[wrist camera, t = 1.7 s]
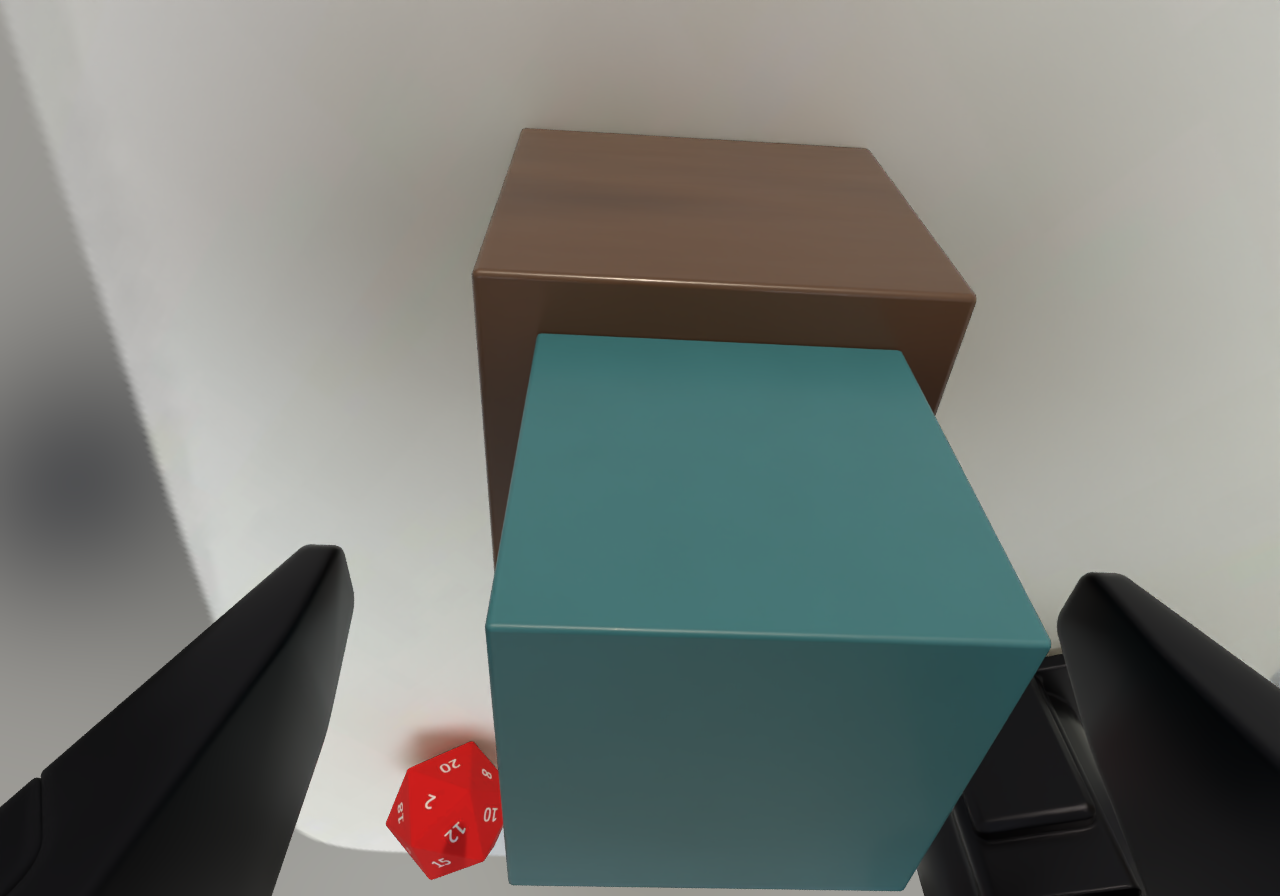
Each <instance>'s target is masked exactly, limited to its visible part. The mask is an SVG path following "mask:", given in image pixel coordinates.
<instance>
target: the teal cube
mask: <svg viewBox="0 0 1280 896" xmlns="http://www.w3.org/2000/svg"><path fill="white" fill-rule="evenodd" d="M485 632H486V642H487V653H488V664H489V675H490V686H491V697H492V708H493V719H494V730H495V740H496V751H497V762H498V773H499V784H500V795H501V806H502V817H503V827H504V838H505V849H506V860H507V871H508V880H509V883H510V884H511V885H531V886H534V885H535V886H597V887H601V886H603V887H663V888H729V889H732V888H733V889H735V888H736V889H795V890H796V889H799V890H801V889H802V890H861V891H902V890H904V888H905V887H906V885H907V883H908V882H909V880H910V878H911V877H912V875H913V874H914V872H915V870H916V869H917V867H918V865H919V864H920V862H921V860H922V859H923V857H924V855H925V854H926V852H927V851H928V849H929V847H930V846H931V844H932V842H933V841H934V839H935V837H936V836H937V834H938V832H939V831H940V829H941V828H942V826H943V824H944V823H945V821H946V819H947V818H948V816H949V814H950V813H951V811H952V809H953V808H954V806H955V805H956V803H957V801H958V800H959V798H960V796H961V795H962V793H963V791H964V790H965V788H966V786H967V785H968V783H969V782H970V780H971V778H972V777H973V775H974V773H975V772H976V770H977V768H978V767H979V765H980V763H981V762H982V760H983V758H984V757H985V755H986V754H987V752H988V750H989V749H990V747H991V745H992V744H993V742H994V740H995V739H996V737H997V735H998V734H999V732H1000V731H1001V729H1002V727H1003V726H1004V724H1005V722H1006V721H1007V719H1008V717H1009V716H1010V714H1011V712H1012V711H1013V709H1014V708H1015V706H1016V704H1017V703H1018V701H1019V699H1020V698H1021V696H1022V694H1023V693H1024V691H1025V689H1026V688H1027V686H1028V685H1029V683H1030V681H1031V680H1032V678H1033V676H1034V675H1035V673H1036V671H1037V670H1038V668H1039V666H1040V665H1041V663H1042V661H1043V660H1044V658H1045V657H1046V655H1047V653H1048V652H1049V650H1050V648H1051V640H1050V638H1049V636H1048V634H1047V632H1046V631H1045V629H1044V627H1043V625H1042V623H1041V621H1040V619H1039V617H1038V615H1037V613H1036V611H1035V609H1034V607H1033V605H1032V603H1031V601H1030V600H1029V598H1028V596H1027V594H1026V592H1025V590H1024V588H1023V586H1022V584H1021V582H1020V580H1019V578H1018V576H1017V574H1016V572H1015V570H1014V569H1013V567H1012V565H1011V563H1010V561H1009V559H1008V557H1007V555H1006V553H1005V551H1004V549H1003V547H1002V545H1001V543H1000V541H999V539H998V538H997V536H996V534H995V532H994V530H993V528H992V526H991V524H990V522H989V520H988V518H987V516H986V514H985V512H984V510H983V508H982V507H981V505H980V503H979V501H978V499H977V497H976V495H975V493H974V491H973V489H972V487H971V485H970V483H969V481H968V479H967V477H966V476H965V474H964V472H963V470H962V468H961V466H960V464H959V462H958V460H957V458H956V456H955V454H954V452H953V450H952V448H951V446H950V445H949V443H948V441H947V439H946V437H945V435H944V433H943V431H942V429H941V427H940V425H939V423H938V421H937V419H936V417H935V415H934V414H933V412H932V410H931V408H930V406H929V404H928V402H927V400H926V398H925V396H924V394H923V392H922V390H921V388H920V386H919V384H918V383H917V381H916V379H915V377H914V375H913V373H912V371H911V369H910V367H909V365H908V363H907V361H906V359H905V357H904V355H903V353H902V352H901V351H898V350H882V349H861V348H840V347H819V346H798V345H777V344H757V343H736V342H715V341H694V340H673V339H652V338H631V337H610V336H590V335H569V334H548V333H541V334H538V336H537V338H536V343H535V349H534V355H533V360H532V366H531V371H530V377H529V383H528V388H527V394H526V400H525V405H524V411H523V416H522V422H521V428H520V433H519V439H518V444H517V450H516V456H515V461H514V467H513V472H512V478H511V484H510V489H509V495H508V501H507V506H506V512H505V517H504V523H503V529H502V534H501V540H500V545H499V551H498V557H497V562H496V568H495V573H494V579H493V585H492V590H491V596H490V601H489V607H488V613H487V618H486V624H485Z"/></svg>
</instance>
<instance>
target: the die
mask: <svg viewBox="0 0 1280 896" xmlns="http://www.w3.org/2000/svg"><path fill="white" fill-rule="evenodd" d="M386 826H387V827H388V829H389V830H390V831H391V832H392V833H393V835H394V836H395V837H396V838H397V840H398V841H399V842H400V843H401V845H402V846H403V847H404V848H405V850H406V851H407V852H408V853H409V855H410V856H411V857H412V858H413V860H414V861H415V862H416V863H417V865H418V866H419V867H420V868H421V869H422V871H423V872H424V873H425V874H426V876H427V877H428V878H429V879H431V880H432V879H436V878H438V877H441V876H444V875H447V874H450V873H452V872H455V871H458V870H461V869H464V868H466V867H469V866H472V865H475V864H477V863H480V862H483V861H484V860H485V859H486V857H487V856H488V854H489V853H490V851H491V850H492V848H493V847H494V845H495V843H496V841H497V839H498V836H499V834H500V832H501V830H502V828H503V817H502V806H501V795H500V784H499V773H498V770H497V769H496V768H495V766H494V765H493V764H492V763H491V762H490V761H489V759H488V758H487V757H486V756H485V755H484V753H483V752H482V751H481V750H480V749H479V748H478V746H477V745H476V744H475V743H474V742H472V741H471V742H468V743H466V744H464V745H461V746H459V747H457V748H454V749H452V750H450V751H447V752H445V753H443V754H440V755H438V756H436V757H434V758H431V759H429V760H427V761H424V762H422V763H420V764H418V765H415V766H413V767H411V768H409V769H408V770H407V772H406V775H405V777H404V780H403V782H402V785H401V787H400V789H399V792H398V794H397V797H396V799H395V802H394V804H393V807H392V809H391V812H390V814H389V817H388V819H387V821H386Z"/></svg>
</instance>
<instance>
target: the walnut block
mask: <svg viewBox="0 0 1280 896" xmlns="http://www.w3.org/2000/svg"><path fill="white" fill-rule="evenodd" d="M472 284H473V297H474V311H475V324H476V337H477V350H478V364H479V377H480V390H481V403H482V416H483V430H484V443H485V456H486V469H487V482H488V496H489V509H490V522H491V535H492V549H493V562H494V573H495V568H496V562H497V557H498V551H499V545H500V540H501V534H502V529H503V523H504V517H505V512H506V506H507V501H508V495H509V489H510V484H511V478H512V472H513V467H514V461H515V456H516V450H517V444H518V439H519V433H520V428H521V422H522V416H523V411H524V405H525V400H526V394H527V388H528V383H529V377H530V371H531V366H532V360H533V355H534V349H535V343H536V338H537V336H538V334H541V333H548V334H569V335H590V336H610V337H631V338H652V339H673V340H694V341H715V342H736V343H757V344H777V345H798V346H819V347H840V348H861V349H882V350H898V351H901V352H902V353H903V355H904V357H905V359H906V361H907V363H908V365H909V367H910V369H911V371H912V373H913V375H914V377H915V379H916V381H917V383H918V384H919V386H920V388H921V390H922V392H923V394H924V396H925V398H926V400H927V402H928V404H929V406H930V408H931V410H932V412H933V414H934V415H936V412H937V409H938V407H939V404H940V401H941V398H942V395H943V393H944V390H945V387H946V384H947V382H948V379H949V376H950V373H951V371H952V368H953V365H954V362H955V359H956V357H957V354H958V351H959V348H960V346H961V343H962V340H963V337H964V334H965V332H966V329H967V326H968V323H969V321H970V318H971V315H972V312H973V310H974V307H975V304H976V295H975V293H974V292H973V291H972V289H971V288H970V287H969V285H968V284H967V282H966V281H965V280H964V278H963V277H962V276H961V274H960V273H959V272H958V270H957V269H956V268H955V266H954V265H953V263H952V262H951V261H950V259H949V258H948V257H947V255H946V254H945V253H944V251H943V250H942V248H941V247H940V246H939V244H938V243H937V242H936V240H935V239H934V238H933V236H932V235H931V233H930V232H929V231H928V229H927V228H926V227H925V225H924V224H923V223H922V221H921V220H920V219H919V217H918V216H917V214H916V213H915V212H914V210H913V209H912V208H911V206H910V205H909V204H908V202H907V201H906V199H905V198H904V197H903V195H902V194H901V193H900V191H899V190H898V189H897V187H896V186H895V184H894V183H893V182H892V180H891V179H890V178H889V176H888V175H887V174H886V172H885V171H884V170H883V168H882V167H881V165H880V164H879V163H878V161H877V160H876V159H875V157H874V156H873V155H872V153H871V152H870V150H868V149H864V148H847V147H830V146H814V145H797V144H780V143H764V142H747V141H730V140H714V139H697V138H680V137H664V136H647V135H630V134H614V133H597V132H580V131H564V130H547V129H530V128H525V129H522V131H521V134H520V137H519V139H518V142H517V145H516V148H515V151H514V154H513V157H512V160H511V163H510V165H509V168H508V171H507V174H506V177H505V180H504V183H503V186H502V189H501V191H500V194H499V197H498V200H497V203H496V206H495V209H494V212H493V215H492V217H491V220H490V223H489V226H488V229H487V232H486V235H485V238H484V241H483V243H482V246H481V249H480V252H479V255H478V258H477V261H476V264H475V266H474V269H473V272H472Z"/></svg>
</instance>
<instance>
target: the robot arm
mask: <svg viewBox="0 0 1280 896" xmlns="http://www.w3.org/2000/svg"><path fill="white" fill-rule="evenodd" d="M353 609H354V591H353V587H352V583H351V578H350V574H349V570H348V566H347V562H346V558H345V554H344V552H343V550H342V548H341V547H339V546H336V545H313V544H310V545H306V546H304V547H302V548H300V549H299V550H298V551H297V552H295V553H294V554H293V555H292V556H291V557H290V558H288V559H287V560H286V561H285V562H284V563H283V564H281V565H280V566H279V567H278V568H277V569H276V570H275V571H273V572H272V573H271V574H270V575H269V576H268V577H266V578H265V579H264V580H263V581H262V582H261V583H260V584H258V585H257V586H256V587H255V588H254V589H253V590H251V591H250V592H249V593H248V594H247V595H246V596H244V597H243V598H242V599H241V600H240V601H239V602H238V603H236V604H235V605H234V606H233V607H232V608H231V609H229V610H228V611H227V612H226V613H225V614H224V615H222V616H221V617H220V618H219V619H218V620H217V621H216V622H214V623H213V624H212V625H211V626H210V627H209V628H207V629H206V630H205V631H204V632H203V633H202V634H200V635H199V636H198V637H197V638H196V639H195V640H194V641H192V642H191V643H190V644H189V645H188V646H187V647H185V649H183V650H182V651H181V652H180V653H179V654H177V655H176V656H175V657H174V658H173V659H172V660H170V661H169V662H168V663H167V664H166V665H165V666H163V667H162V668H161V669H160V670H159V671H158V672H157V673H156V674H154V675H153V676H152V677H151V678H150V679H148V680H147V681H146V682H145V683H144V684H143V685H141V687H139V688H138V689H137V690H136V691H135V692H133V693H132V694H131V695H130V696H129V697H128V698H126V699H125V700H124V701H123V702H122V703H121V704H119V705H118V706H117V707H116V708H115V709H114V710H113V711H112V712H110V713H109V714H108V715H107V716H106V717H104V718H103V719H102V720H101V721H100V722H99V723H98V724H96V725H95V726H94V727H93V728H92V729H91V730H89V731H88V732H87V733H86V734H85V735H84V736H82V737H81V738H80V739H79V740H78V741H77V742H76V743H75V744H73V745H72V746H71V747H70V748H69V749H67V750H66V751H65V752H64V753H63V754H62V755H61V756H59V757H58V758H57V759H56V760H55V761H54V762H52V763H51V764H50V765H49V766H48V767H47V768H45V769H44V770H43V772H42V774H41V778H34V779H33V780H31V781H30V782H29V783H28V784H26V786H24V787H23V788H22V789H21V790H20V791H18V792H17V793H16V794H15V795H14V796H13V797H11V798H10V799H9V800H8V801H7V802H6V803H4V804H3V805H2V806H1V807H0V896H272V893H273V890H274V887H275V884H276V881H277V878H278V875H279V872H280V870H281V866H282V863H283V861H284V858H285V855H286V852H287V849H288V846H289V843H290V840H291V837H292V834H293V831H294V828H295V825H296V822H297V819H298V816H299V814H300V811H301V808H302V805H303V802H304V799H305V796H306V793H307V790H308V787H309V784H310V781H311V778H312V775H313V772H314V769H315V766H316V763H317V760H318V758H319V755H320V752H321V749H322V745H323V742H324V739H325V736H326V732H327V729H328V725H329V721H330V717H331V712H332V708H333V703H334V699H335V694H336V689H337V685H338V680H339V675H340V670H341V666H342V661H343V656H344V652H345V647H346V642H347V638H348V633H349V628H350V624H351V619H352V614H353ZM1057 632H1058V637H1059V641H1060V644H1061V648H1062V652H1063V654H1060V655H1054V656H1049V657H1045V658H1044V660H1043V661H1042V663H1041V665H1040V666H1039V668H1038V670H1037V671H1036V673H1035V675H1034V676H1033V678H1032V680H1031V681H1030V683H1029V685H1028V686H1027V688H1026V689H1025V691H1024V693H1023V694H1022V696H1021V698H1020V699H1019V701H1018V703H1017V704H1016V706H1015V708H1014V709H1013V711H1012V712H1011V714H1010V716H1009V717H1008V719H1007V721H1006V722H1005V724H1004V726H1003V727H1002V729H1001V731H1000V732H999V734H998V735H997V737H996V739H995V740H994V742H993V744H992V745H991V747H990V749H989V750H988V752H987V754H986V755H985V757H984V758H983V760H982V762H981V763H980V765H979V767H978V768H977V770H976V772H975V773H974V775H973V777H972V778H971V780H970V782H969V783H968V785H967V786H966V788H965V790H964V791H963V793H962V795H961V796H960V798H959V800H958V801H957V803H956V805H955V806H954V808H953V809H952V811H951V813H950V814H949V816H948V818H947V819H946V821H945V823H944V824H943V826H942V828H941V829H940V831H939V832H938V834H937V836H936V837H935V839H934V841H933V842H932V844H931V846H930V847H929V849H928V851H927V852H926V854H925V855H924V857H923V859H922V860H921V862H920V864H919V865H918V867H917V871H918V875H919V878H920V882H921V886H922V889H923V893H924V896H1280V689H1279V688H1278V687H1277V686H1275V685H1274V684H1272V683H1271V682H1270V681H1268V680H1267V679H1266V678H1264V677H1263V676H1262V675H1260V674H1259V673H1257V672H1256V671H1255V670H1253V669H1252V668H1251V667H1249V666H1248V665H1246V664H1245V663H1244V662H1242V661H1241V660H1240V659H1238V658H1237V657H1236V656H1234V655H1233V654H1231V653H1230V652H1229V651H1227V650H1226V649H1225V648H1223V647H1222V646H1220V645H1219V644H1218V643H1216V642H1215V641H1214V640H1212V639H1211V638H1209V637H1208V636H1207V635H1205V634H1204V633H1203V632H1201V631H1200V630H1199V629H1197V628H1196V627H1194V626H1193V625H1192V624H1190V623H1189V622H1188V621H1186V620H1185V619H1183V618H1182V617H1181V616H1179V615H1178V614H1177V613H1175V612H1174V611H1172V610H1171V609H1170V608H1168V607H1167V606H1166V605H1164V604H1163V603H1162V602H1160V601H1159V600H1157V599H1156V598H1155V597H1153V596H1152V595H1151V594H1149V593H1148V592H1146V591H1145V590H1144V589H1142V588H1141V587H1140V586H1138V585H1137V584H1135V583H1134V582H1133V581H1131V580H1130V579H1129V578H1127V577H1125V576H1124V575H1121V574H1117V573H1097V572H1090V573H1087V574H1085V575H1084V576H1082V577H1081V578H1080V580H1079V581H1078V583H1077V584H1076V586H1075V588H1074V590H1073V591H1072V593H1071V595H1070V596H1069V598H1068V600H1067V601H1066V603H1065V605H1064V606H1063V608H1062V610H1061V612H1060V614H1059V616H1058V620H1057Z"/></svg>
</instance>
